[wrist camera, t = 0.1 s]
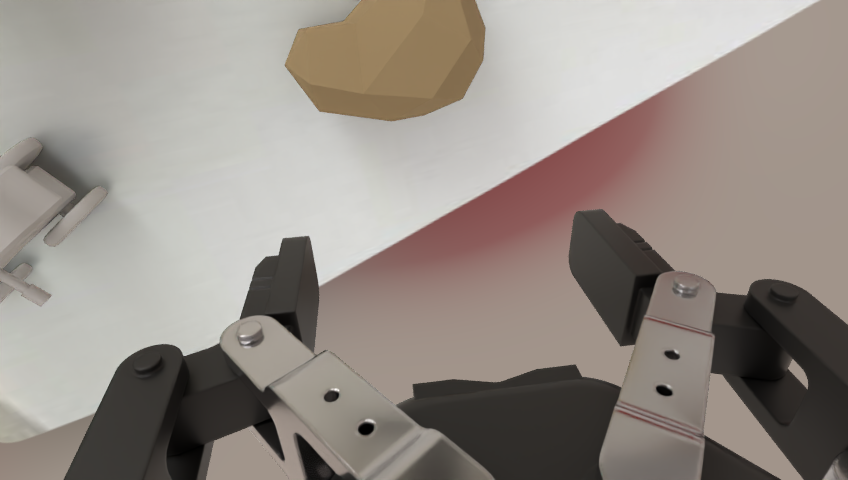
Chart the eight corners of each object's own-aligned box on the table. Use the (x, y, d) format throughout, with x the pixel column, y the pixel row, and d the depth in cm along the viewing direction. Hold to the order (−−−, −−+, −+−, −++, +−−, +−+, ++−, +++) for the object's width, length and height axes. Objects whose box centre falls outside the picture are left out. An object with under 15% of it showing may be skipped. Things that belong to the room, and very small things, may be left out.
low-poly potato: (495, -37, 38) (388, -150, 29) (552, 62, 33) (442, -39, 24) (369, 91, 45) (254, 30, 37) (399, 186, 41) (276, 142, 32)
